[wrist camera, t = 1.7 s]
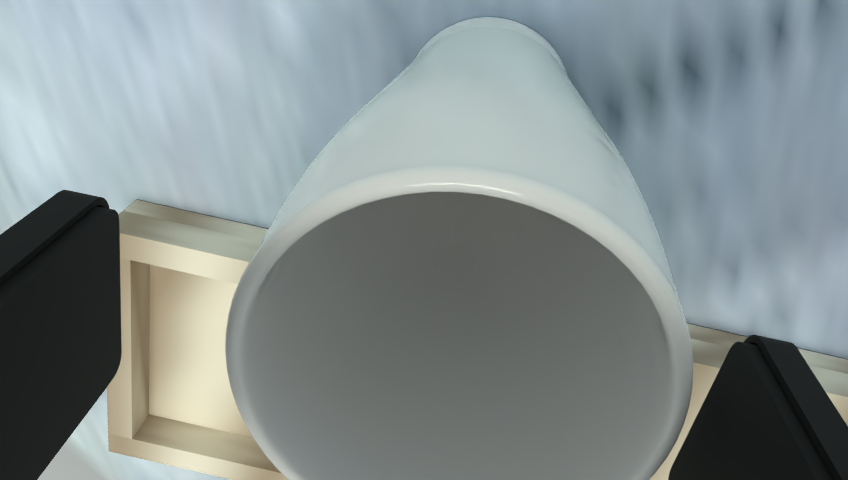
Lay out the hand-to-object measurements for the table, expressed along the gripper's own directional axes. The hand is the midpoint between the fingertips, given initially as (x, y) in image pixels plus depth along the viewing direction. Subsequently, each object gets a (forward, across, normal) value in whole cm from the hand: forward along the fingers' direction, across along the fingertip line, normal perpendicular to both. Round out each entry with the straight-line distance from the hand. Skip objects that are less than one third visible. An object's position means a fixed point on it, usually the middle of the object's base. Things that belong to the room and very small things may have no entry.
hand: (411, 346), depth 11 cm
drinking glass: (+14, -1, 0) cm, 14 cm away
